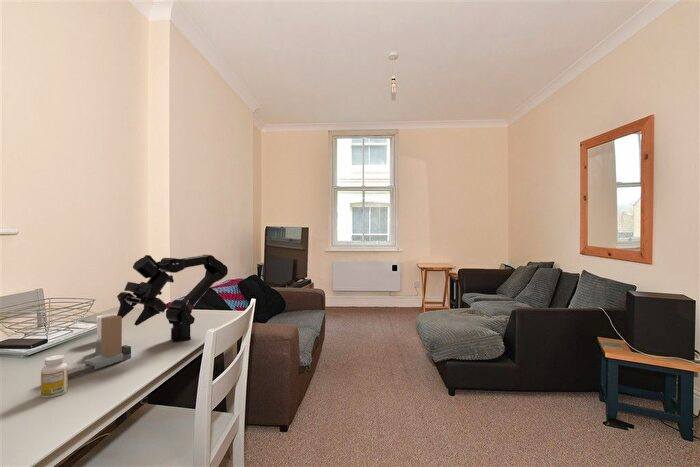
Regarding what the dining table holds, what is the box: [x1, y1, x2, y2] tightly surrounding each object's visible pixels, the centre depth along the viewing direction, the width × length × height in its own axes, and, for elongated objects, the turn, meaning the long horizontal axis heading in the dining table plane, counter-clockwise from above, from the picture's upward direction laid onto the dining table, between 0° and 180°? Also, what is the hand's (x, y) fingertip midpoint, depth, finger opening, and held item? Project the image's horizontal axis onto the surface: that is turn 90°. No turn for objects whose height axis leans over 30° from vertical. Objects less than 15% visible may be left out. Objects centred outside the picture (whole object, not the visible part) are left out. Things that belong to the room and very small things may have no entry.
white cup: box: [96, 312, 118, 338], centre depth 136 cm, size 8×8×10 cm
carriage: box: [84, 315, 124, 370], centre depth 110 cm, size 8×6×14 cm, turn 158°
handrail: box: [68, 344, 132, 380], centre depth 107 cm, size 22×3×4 cm, turn 158°
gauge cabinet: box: [94, 337, 101, 357], centre depth 122 cm, size 7×7×5 cm
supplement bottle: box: [40, 354, 69, 399], centre depth 91 cm, size 5×5×10 cm
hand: (125, 322), depth 117 cm, fingers open, 9 cm apart
